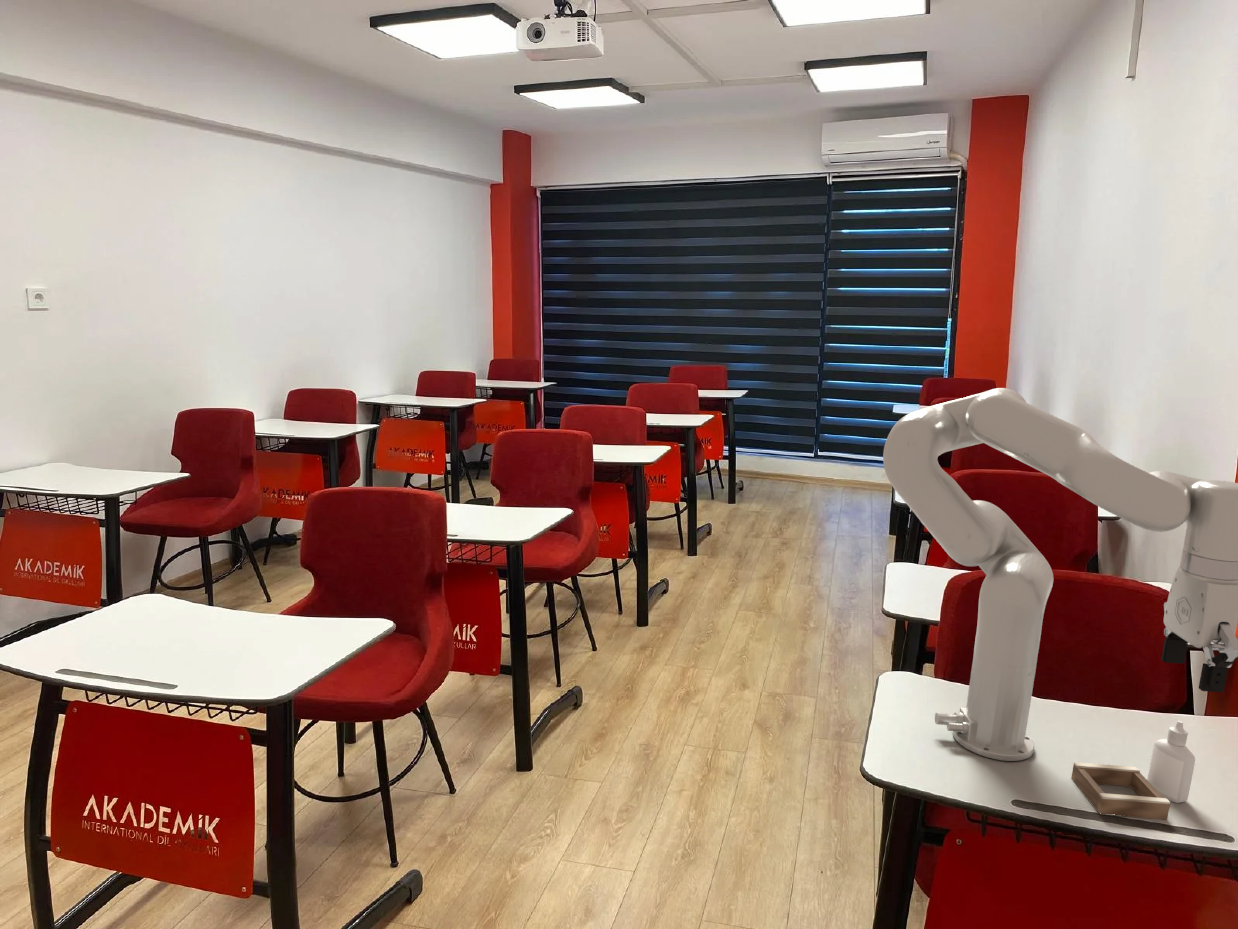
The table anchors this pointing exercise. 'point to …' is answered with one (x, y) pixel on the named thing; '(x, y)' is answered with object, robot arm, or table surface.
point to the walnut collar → (1124, 805)
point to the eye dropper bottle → (1172, 765)
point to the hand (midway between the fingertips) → (1190, 676)
